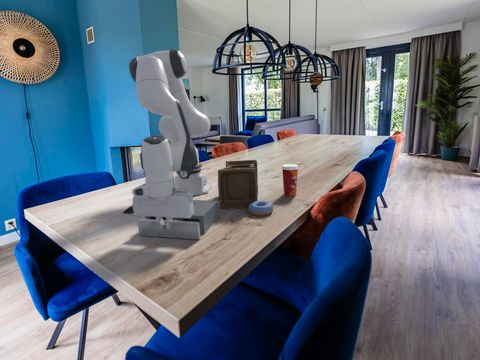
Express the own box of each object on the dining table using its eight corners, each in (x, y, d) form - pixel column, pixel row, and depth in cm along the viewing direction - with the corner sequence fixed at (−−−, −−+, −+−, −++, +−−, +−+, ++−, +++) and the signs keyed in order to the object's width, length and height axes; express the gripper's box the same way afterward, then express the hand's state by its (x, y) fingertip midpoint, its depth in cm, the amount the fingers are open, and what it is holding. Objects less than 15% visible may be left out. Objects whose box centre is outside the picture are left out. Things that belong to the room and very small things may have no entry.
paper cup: (297, 197, 134) (297, 167, 130) (280, 196, 136) (280, 166, 133) (299, 192, 141) (299, 163, 137) (283, 191, 143) (283, 163, 140)
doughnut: (270, 217, 111) (269, 205, 110) (245, 216, 114) (244, 205, 113) (275, 210, 120) (275, 199, 120) (252, 210, 123) (251, 199, 123)
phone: (155, 200, 136) (139, 212, 122) (155, 202, 136) (139, 214, 122) (139, 200, 137) (121, 211, 123) (140, 202, 138) (122, 214, 123)
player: (168, 214, 120) (166, 198, 118) (219, 216, 115) (218, 200, 113) (147, 230, 105) (144, 213, 103) (204, 233, 100) (203, 215, 98)
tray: (161, 218, 115) (160, 204, 114) (214, 221, 110) (213, 207, 108) (139, 235, 100) (137, 220, 99) (199, 240, 95) (197, 223, 93)
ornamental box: (229, 191, 157) (223, 157, 153) (262, 186, 155) (256, 152, 151) (220, 213, 123) (212, 170, 119) (262, 207, 121) (255, 164, 117)
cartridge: (172, 225, 105) (171, 216, 104) (184, 226, 104) (183, 217, 103) (166, 231, 100) (164, 221, 100) (178, 232, 99) (177, 222, 99)
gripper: (195, 186, 93) (199, 226, 96) (138, 184, 98) (143, 223, 101) (187, 192, 87) (191, 234, 90) (127, 190, 92) (133, 230, 95)
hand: (165, 228), depth 96 cm, fingers closed, pressing on tray
